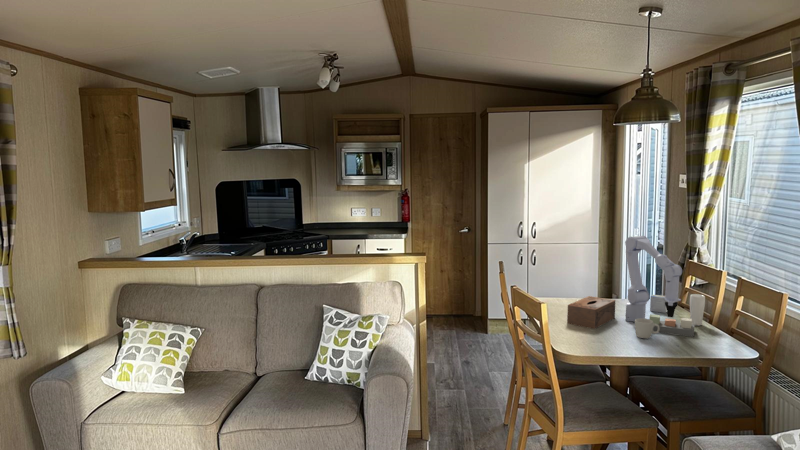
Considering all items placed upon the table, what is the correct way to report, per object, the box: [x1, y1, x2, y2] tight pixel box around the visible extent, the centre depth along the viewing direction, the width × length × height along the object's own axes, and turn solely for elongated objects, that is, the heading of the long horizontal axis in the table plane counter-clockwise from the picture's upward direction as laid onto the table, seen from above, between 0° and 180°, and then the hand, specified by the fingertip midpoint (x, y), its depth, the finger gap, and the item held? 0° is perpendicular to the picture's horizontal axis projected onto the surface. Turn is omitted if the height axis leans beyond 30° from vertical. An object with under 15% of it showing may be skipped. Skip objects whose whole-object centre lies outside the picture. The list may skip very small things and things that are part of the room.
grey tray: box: [653, 320, 696, 338], centre depth 278 cm, size 21×11×3 cm, turn 61°
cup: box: [634, 318, 660, 339], centre depth 267 cm, size 11×8×8 cm
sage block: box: [648, 313, 661, 325], centre depth 281 cm, size 4×4×4 cm
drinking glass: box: [689, 293, 706, 326], centre depth 288 cm, size 7×7×15 cm
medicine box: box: [649, 294, 667, 314], centre depth 314 cm, size 8×4×9 cm, turn 58°
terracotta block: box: [664, 317, 677, 327], centre depth 278 cm, size 4×4×4 cm
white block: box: [680, 317, 692, 329], centre depth 274 cm, size 4×4×4 cm
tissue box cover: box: [566, 295, 616, 330], centre depth 295 cm, size 26×14×10 cm, turn 138°
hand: (670, 316), depth 277 cm, fingers closed
